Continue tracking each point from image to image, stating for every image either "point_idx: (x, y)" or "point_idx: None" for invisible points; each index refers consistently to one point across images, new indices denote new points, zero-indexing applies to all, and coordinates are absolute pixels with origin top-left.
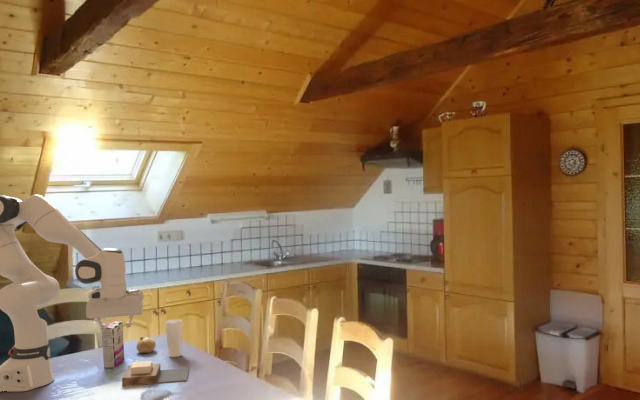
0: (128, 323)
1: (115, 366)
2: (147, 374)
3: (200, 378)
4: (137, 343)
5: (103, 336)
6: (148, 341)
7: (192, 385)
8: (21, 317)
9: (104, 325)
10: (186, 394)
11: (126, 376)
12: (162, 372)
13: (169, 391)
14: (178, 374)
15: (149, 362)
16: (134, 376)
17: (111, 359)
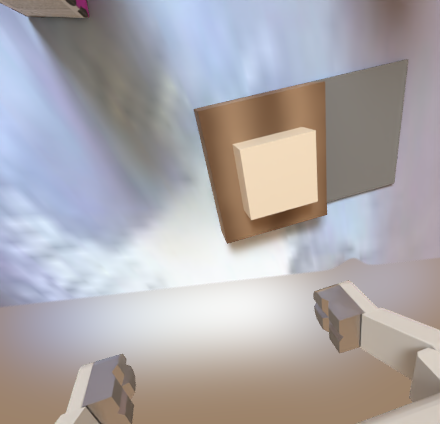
0: (355, 341)
1: (87, 12)
2: (299, 208)
3: (426, 160)
4: None
5: None
6: None
7: (402, 212)
8: None
9: (131, 416)
10: (386, 263)
11: (236, 229)
12: None
13: (351, 251)
14: (372, 135)
15: (308, 158)
16: (263, 228)
17: (57, 7)
